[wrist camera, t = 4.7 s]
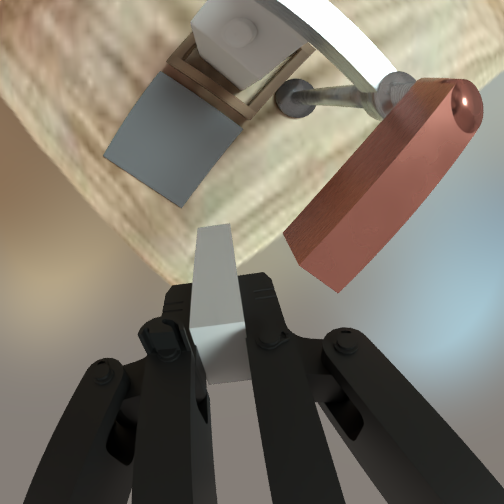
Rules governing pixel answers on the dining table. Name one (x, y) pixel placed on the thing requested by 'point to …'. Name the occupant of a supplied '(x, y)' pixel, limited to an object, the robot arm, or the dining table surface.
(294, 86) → the base
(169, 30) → the dining table surface
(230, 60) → the milk carton
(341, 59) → the signpost
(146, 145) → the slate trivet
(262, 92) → the frame
